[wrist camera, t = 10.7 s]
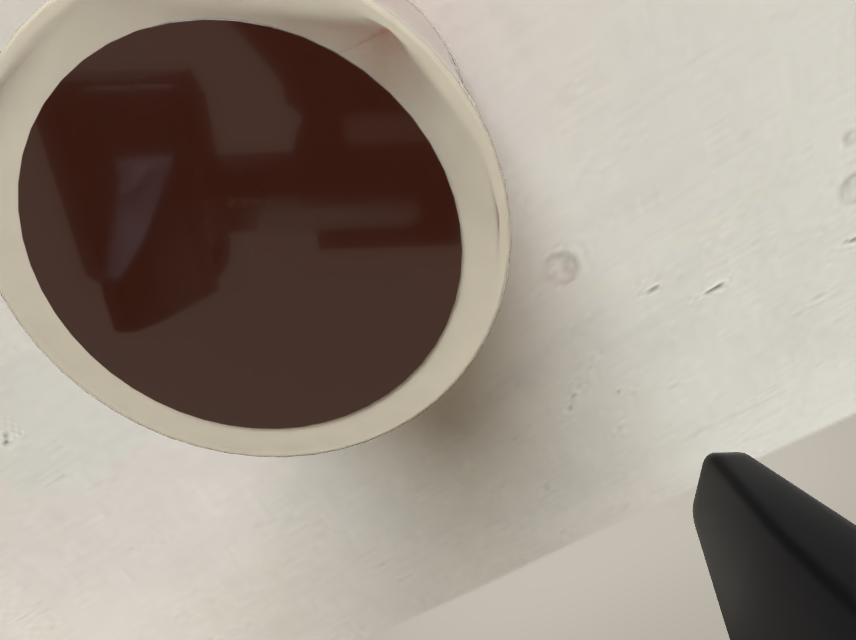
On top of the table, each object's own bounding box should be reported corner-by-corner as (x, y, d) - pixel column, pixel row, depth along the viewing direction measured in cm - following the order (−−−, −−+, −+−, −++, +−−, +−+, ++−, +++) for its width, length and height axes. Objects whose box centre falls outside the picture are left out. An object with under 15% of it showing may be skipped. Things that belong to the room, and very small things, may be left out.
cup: (504, 455, 10) (525, -64, 7) (62, 468, 10) (-147, -42, 7) (468, 247, 18) (469, -44, 15) (216, 255, 18) (157, -34, 15)
